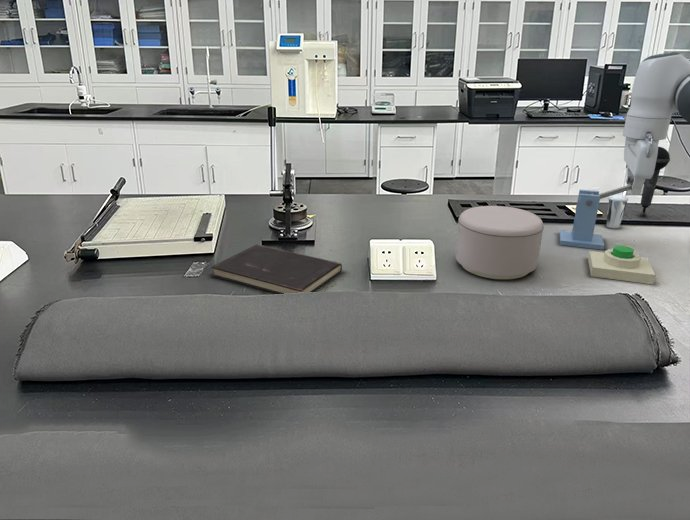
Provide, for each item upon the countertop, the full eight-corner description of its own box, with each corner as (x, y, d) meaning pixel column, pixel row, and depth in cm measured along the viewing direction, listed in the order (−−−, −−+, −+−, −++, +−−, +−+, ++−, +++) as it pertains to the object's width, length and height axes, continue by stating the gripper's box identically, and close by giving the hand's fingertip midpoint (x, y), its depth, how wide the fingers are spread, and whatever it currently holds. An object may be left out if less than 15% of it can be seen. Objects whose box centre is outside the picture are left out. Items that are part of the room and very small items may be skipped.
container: (535, 287, 109) (543, 234, 105) (448, 275, 115) (452, 223, 110) (538, 256, 125) (545, 208, 120) (461, 246, 131) (465, 200, 126)
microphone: (624, 213, 156) (639, 144, 149) (646, 212, 157) (662, 144, 149) (639, 220, 150) (655, 149, 142) (661, 219, 151) (678, 148, 143)
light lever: (636, 186, 128) (633, 177, 127) (639, 193, 123) (637, 183, 122) (583, 202, 133) (580, 194, 133) (584, 209, 128) (581, 200, 127)
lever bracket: (601, 239, 136) (610, 190, 131) (603, 249, 129) (614, 199, 124) (559, 234, 139) (567, 186, 134) (559, 244, 132) (568, 195, 127)
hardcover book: (301, 300, 104) (300, 290, 103) (212, 276, 114) (211, 266, 113) (342, 271, 116) (342, 262, 116) (258, 252, 127) (258, 243, 126)
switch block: (645, 266, 120) (649, 250, 118) (653, 284, 111) (657, 266, 109) (587, 259, 123) (591, 243, 122) (590, 276, 115) (594, 259, 113)
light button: (631, 254, 117) (632, 246, 116) (633, 260, 113) (635, 253, 113) (611, 251, 118) (612, 244, 117) (613, 258, 114) (614, 250, 114)
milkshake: (626, 226, 145) (634, 191, 141) (615, 230, 142) (623, 194, 138) (611, 222, 148) (618, 187, 144) (599, 226, 145) (606, 190, 142)
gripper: (670, 137, 110) (654, 201, 116) (653, 123, 128) (641, 180, 133) (636, 135, 112) (622, 199, 118) (624, 122, 130) (613, 177, 135)
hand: (632, 188), depth 126 cm, fingers open, 8 cm apart
